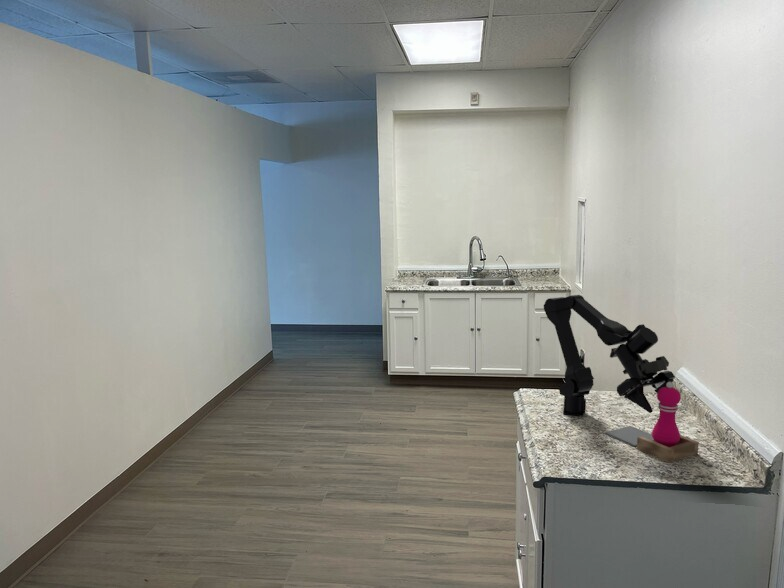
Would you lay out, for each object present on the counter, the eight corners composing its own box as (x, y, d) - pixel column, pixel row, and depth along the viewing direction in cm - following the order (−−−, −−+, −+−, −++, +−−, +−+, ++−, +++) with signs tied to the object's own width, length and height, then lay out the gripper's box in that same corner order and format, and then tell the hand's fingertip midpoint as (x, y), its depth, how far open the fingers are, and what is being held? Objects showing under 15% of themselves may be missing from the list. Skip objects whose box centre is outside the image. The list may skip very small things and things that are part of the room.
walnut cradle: (636, 448, 171) (637, 437, 171) (664, 440, 177) (665, 429, 176) (669, 462, 162) (670, 450, 162) (697, 454, 168) (698, 442, 167)
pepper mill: (677, 447, 172) (682, 379, 169) (680, 457, 166) (686, 387, 163) (649, 443, 175) (654, 377, 172) (651, 453, 168) (656, 384, 165)
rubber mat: (604, 434, 182) (605, 432, 182) (630, 427, 187) (630, 425, 187) (635, 447, 172) (635, 445, 172) (660, 439, 178) (661, 438, 177)
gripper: (627, 351, 168) (659, 401, 160) (671, 343, 176) (703, 390, 168) (603, 372, 176) (632, 420, 168) (647, 363, 184) (676, 409, 176)
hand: (662, 409), depth 170 cm, fingers open, 9 cm apart
